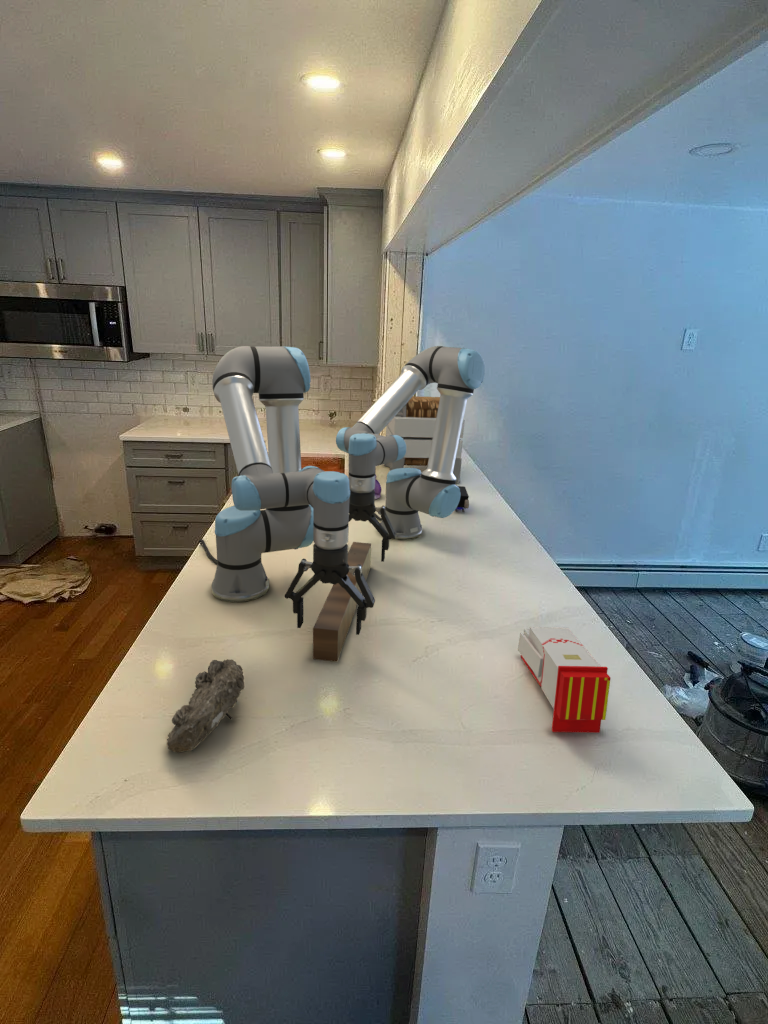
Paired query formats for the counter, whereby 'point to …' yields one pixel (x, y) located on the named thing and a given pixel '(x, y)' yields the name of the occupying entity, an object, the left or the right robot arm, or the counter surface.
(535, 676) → the toy
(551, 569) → the counter surface
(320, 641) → the bar
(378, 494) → the figurine
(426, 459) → the white wooden crate
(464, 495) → the figurine character
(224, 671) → the fossil
